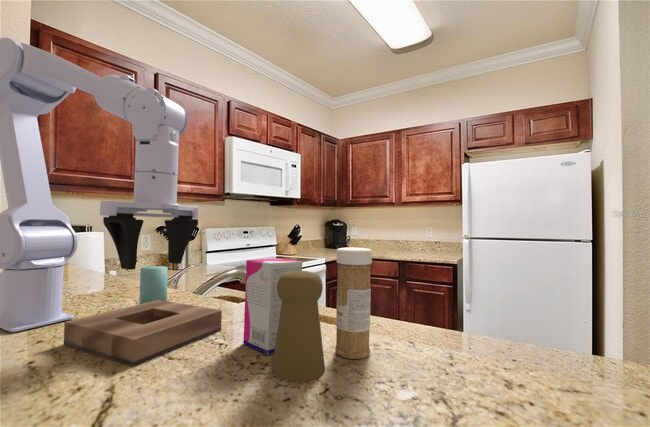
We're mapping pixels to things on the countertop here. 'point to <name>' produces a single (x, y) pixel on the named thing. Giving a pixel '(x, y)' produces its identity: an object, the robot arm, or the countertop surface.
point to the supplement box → (264, 301)
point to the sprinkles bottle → (353, 302)
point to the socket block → (141, 330)
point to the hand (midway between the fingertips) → (153, 265)
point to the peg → (153, 284)
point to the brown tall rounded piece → (299, 328)
